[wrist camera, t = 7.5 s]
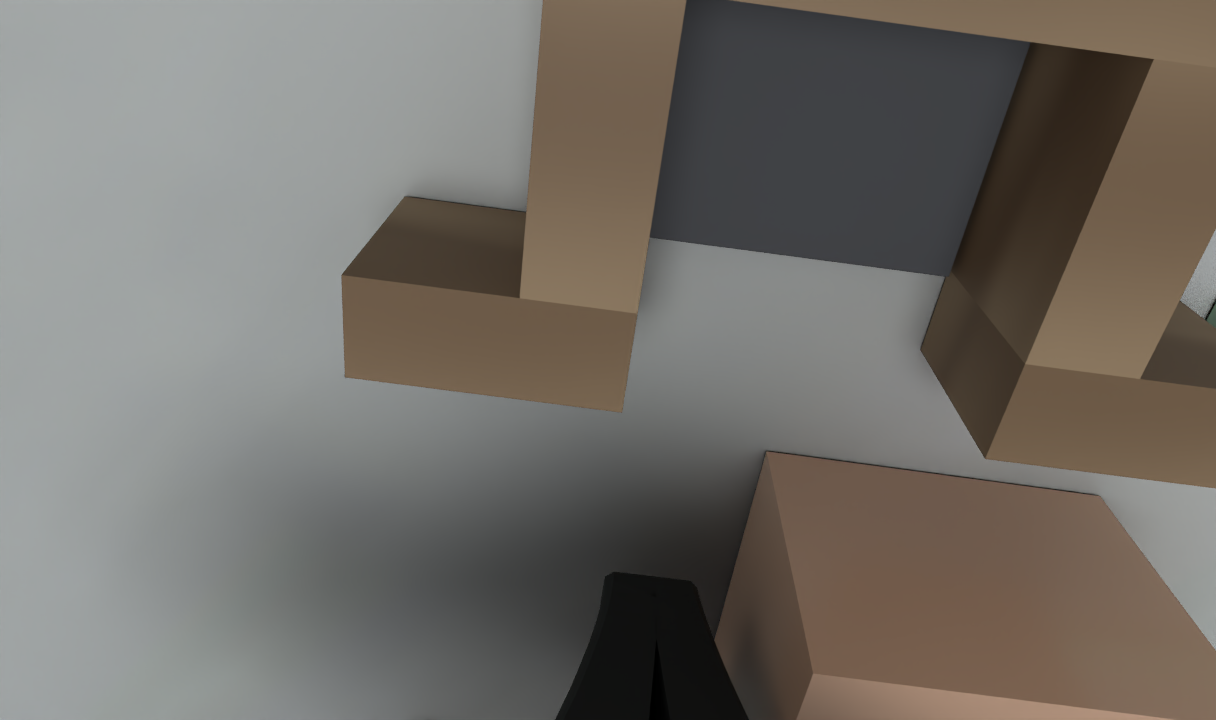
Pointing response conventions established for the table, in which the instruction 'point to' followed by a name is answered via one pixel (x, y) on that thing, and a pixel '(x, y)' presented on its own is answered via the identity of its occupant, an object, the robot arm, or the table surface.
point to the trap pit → (829, 135)
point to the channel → (972, 294)
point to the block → (950, 604)
